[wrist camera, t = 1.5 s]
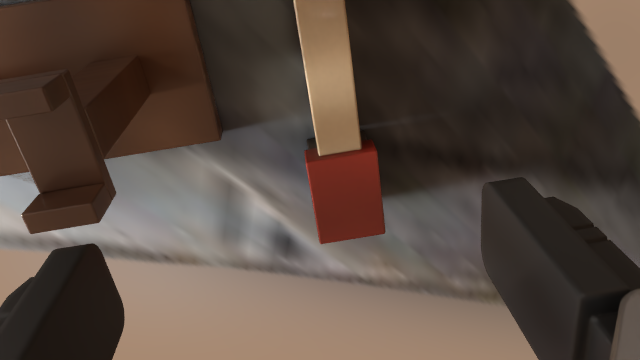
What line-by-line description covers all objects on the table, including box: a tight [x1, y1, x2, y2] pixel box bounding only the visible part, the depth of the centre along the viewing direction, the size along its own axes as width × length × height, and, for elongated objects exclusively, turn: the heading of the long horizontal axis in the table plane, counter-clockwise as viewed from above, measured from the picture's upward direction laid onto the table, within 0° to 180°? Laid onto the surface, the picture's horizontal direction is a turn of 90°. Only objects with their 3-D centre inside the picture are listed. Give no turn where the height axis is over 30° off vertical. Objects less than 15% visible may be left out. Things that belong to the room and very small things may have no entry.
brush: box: [293, 0, 385, 244], centre depth 24 cm, size 20×4×3 cm, turn 8°
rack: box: [0, 0, 223, 234], centre depth 21 cm, size 13×8×11 cm, turn 98°
